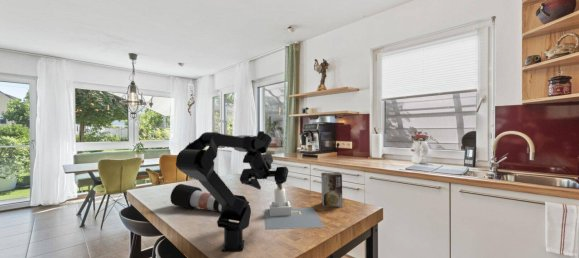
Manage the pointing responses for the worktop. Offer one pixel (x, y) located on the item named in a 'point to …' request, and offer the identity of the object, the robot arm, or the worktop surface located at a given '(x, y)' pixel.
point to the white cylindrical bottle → (279, 197)
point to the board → (291, 217)
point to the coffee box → (332, 189)
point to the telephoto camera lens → (193, 198)
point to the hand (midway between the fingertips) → (270, 188)
